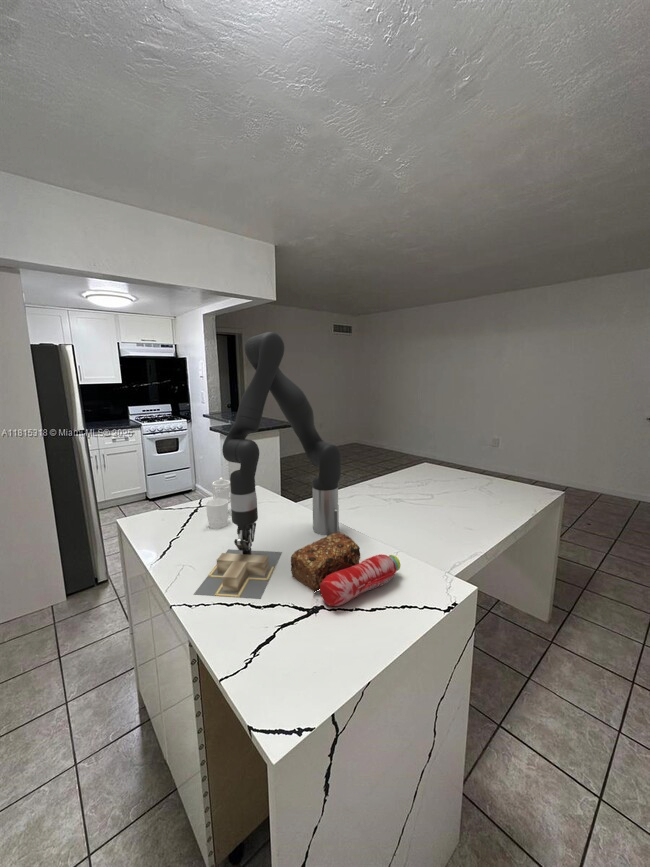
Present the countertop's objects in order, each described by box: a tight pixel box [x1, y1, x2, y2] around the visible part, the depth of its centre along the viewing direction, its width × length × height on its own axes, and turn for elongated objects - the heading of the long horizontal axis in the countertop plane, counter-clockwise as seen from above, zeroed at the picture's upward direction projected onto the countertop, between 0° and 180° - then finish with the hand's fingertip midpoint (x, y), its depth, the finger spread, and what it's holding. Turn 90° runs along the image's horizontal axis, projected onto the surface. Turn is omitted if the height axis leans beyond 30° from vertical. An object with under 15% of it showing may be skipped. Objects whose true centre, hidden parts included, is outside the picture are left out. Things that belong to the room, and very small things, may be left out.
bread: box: [290, 532, 361, 593], centre depth 102 cm, size 19×11×10 cm, turn 131°
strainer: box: [211, 477, 231, 504], centre depth 146 cm, size 7×7×15 cm
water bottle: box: [319, 553, 401, 607], centre depth 96 cm, size 12×8×25 cm
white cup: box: [205, 499, 229, 530], centre depth 134 cm, size 8×8×10 cm
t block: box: [216, 552, 269, 592], centre depth 99 cm, size 14×12×4 cm
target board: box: [192, 548, 283, 600], centre depth 103 cm, size 18×24×1 cm
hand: (247, 559), depth 107 cm, fingers closed
